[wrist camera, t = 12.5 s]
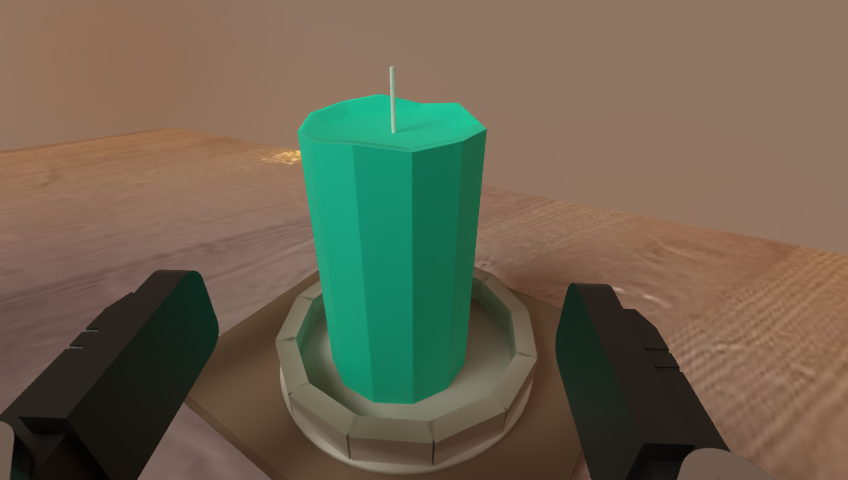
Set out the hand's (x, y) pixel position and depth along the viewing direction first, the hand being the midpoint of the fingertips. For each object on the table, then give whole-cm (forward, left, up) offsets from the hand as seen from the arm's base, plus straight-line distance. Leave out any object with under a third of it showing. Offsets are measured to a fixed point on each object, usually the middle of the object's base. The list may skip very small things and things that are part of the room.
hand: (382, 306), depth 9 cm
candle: (-4, +5, -8) cm, 10 cm away
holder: (-3, +5, -10) cm, 12 cm away
